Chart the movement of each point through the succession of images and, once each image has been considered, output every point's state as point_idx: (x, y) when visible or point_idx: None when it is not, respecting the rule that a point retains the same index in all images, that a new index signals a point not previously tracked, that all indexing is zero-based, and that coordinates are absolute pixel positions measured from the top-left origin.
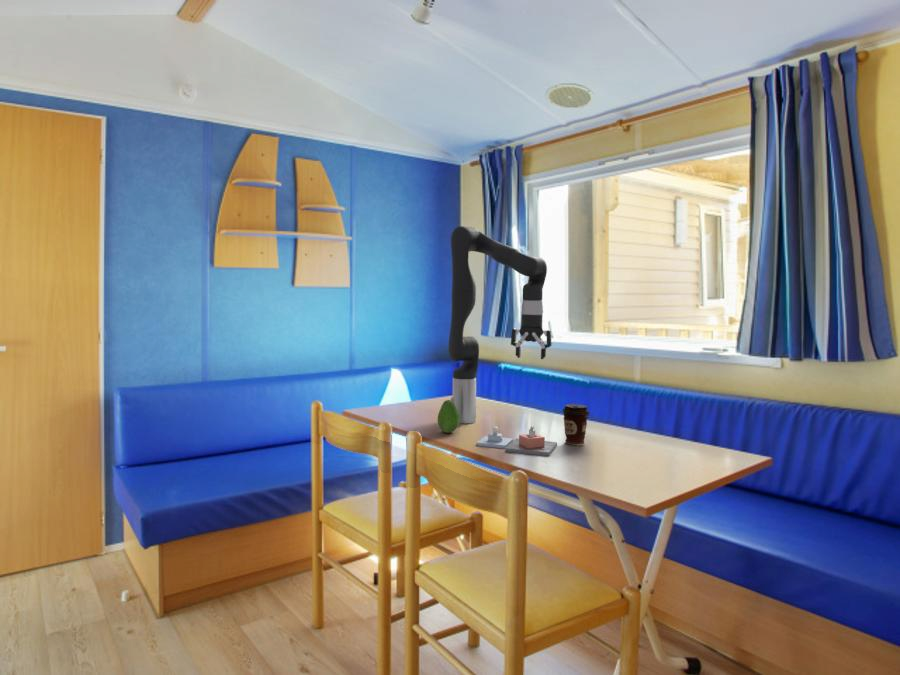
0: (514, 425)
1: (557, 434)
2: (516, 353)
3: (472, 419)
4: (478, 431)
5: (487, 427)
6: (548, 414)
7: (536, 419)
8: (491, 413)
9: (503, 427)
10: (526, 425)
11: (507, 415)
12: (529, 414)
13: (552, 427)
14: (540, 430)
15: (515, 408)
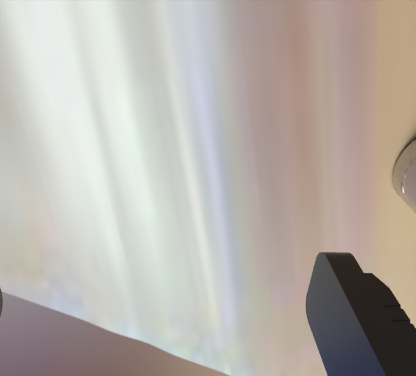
0: (245, 162)
1: (48, 63)
2: (385, 300)
3: (412, 153)
4: (383, 11)
5: (346, 97)
6: (158, 336)
7: (182, 268)
8: None
9: (283, 117)
10: (201, 176)
11: (284, 289)
12: (216, 320)
13: (100, 175)
14: (133, 113)
15: (268, 370)
